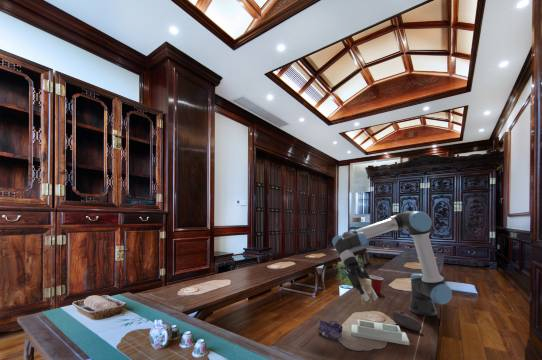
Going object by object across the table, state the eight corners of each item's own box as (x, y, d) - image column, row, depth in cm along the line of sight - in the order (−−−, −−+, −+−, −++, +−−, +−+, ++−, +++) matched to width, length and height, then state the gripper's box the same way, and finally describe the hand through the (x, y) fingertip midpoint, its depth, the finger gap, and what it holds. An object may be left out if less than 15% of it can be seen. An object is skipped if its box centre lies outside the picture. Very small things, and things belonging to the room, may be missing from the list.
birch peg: (371, 302, 133) (370, 279, 135) (371, 306, 128) (371, 281, 130) (361, 301, 135) (360, 277, 136) (361, 304, 130) (361, 280, 131)
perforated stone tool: (424, 332, 133) (423, 318, 134) (419, 334, 130) (418, 320, 131) (397, 321, 146) (396, 308, 147) (391, 323, 143) (391, 310, 144)
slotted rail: (405, 335, 129) (405, 326, 129) (409, 345, 119) (409, 335, 120) (351, 327, 137) (351, 318, 137) (351, 335, 127) (351, 325, 128)
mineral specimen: (317, 339, 124) (317, 330, 124) (320, 326, 137) (320, 317, 137) (341, 343, 120) (341, 333, 121) (342, 329, 133) (342, 321, 134)
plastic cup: (385, 295, 192) (384, 279, 193) (370, 294, 194) (369, 278, 196) (382, 291, 202) (381, 275, 204) (367, 290, 205) (367, 274, 206)
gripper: (357, 262, 151) (380, 301, 134) (333, 264, 144) (354, 305, 127) (364, 255, 147) (388, 293, 130) (339, 256, 140) (362, 297, 123)
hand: (371, 299), depth 129 cm, fingers closed on birch peg, 5 cm apart
